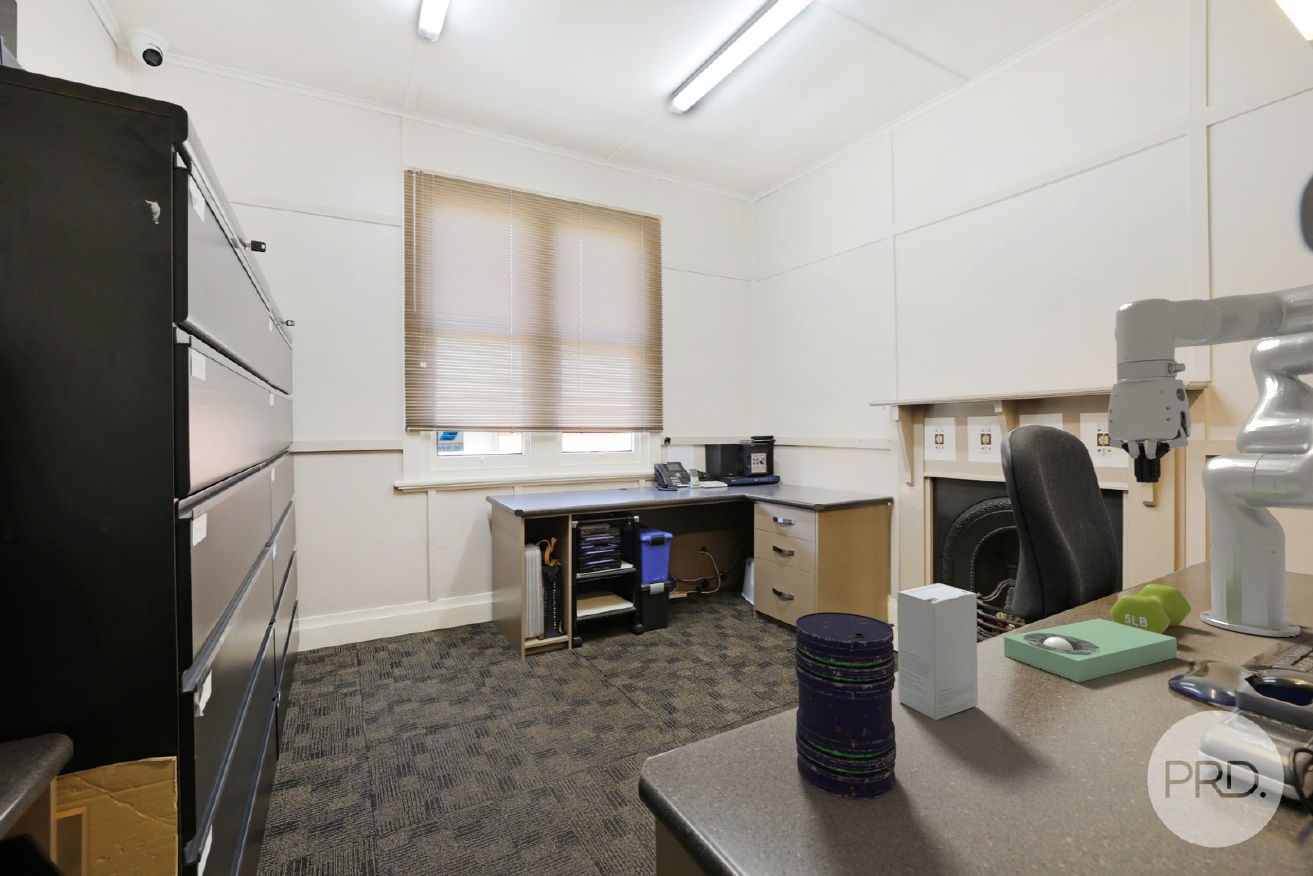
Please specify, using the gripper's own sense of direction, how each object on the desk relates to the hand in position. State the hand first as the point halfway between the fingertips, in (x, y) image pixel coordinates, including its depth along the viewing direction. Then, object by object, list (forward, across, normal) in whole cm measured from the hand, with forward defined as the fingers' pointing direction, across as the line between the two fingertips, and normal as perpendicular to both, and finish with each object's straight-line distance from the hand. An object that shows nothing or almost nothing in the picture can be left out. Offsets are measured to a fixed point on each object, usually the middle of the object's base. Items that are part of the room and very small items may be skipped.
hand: (1147, 482), depth 96 cm
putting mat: (+27, 0, +16) cm, 31 cm away
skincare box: (+27, -3, +52) cm, 59 cm away
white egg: (+25, 0, +24) cm, 34 cm away
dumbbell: (+28, +4, -8) cm, 29 cm away
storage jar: (+27, -10, +73) cm, 79 cm away
